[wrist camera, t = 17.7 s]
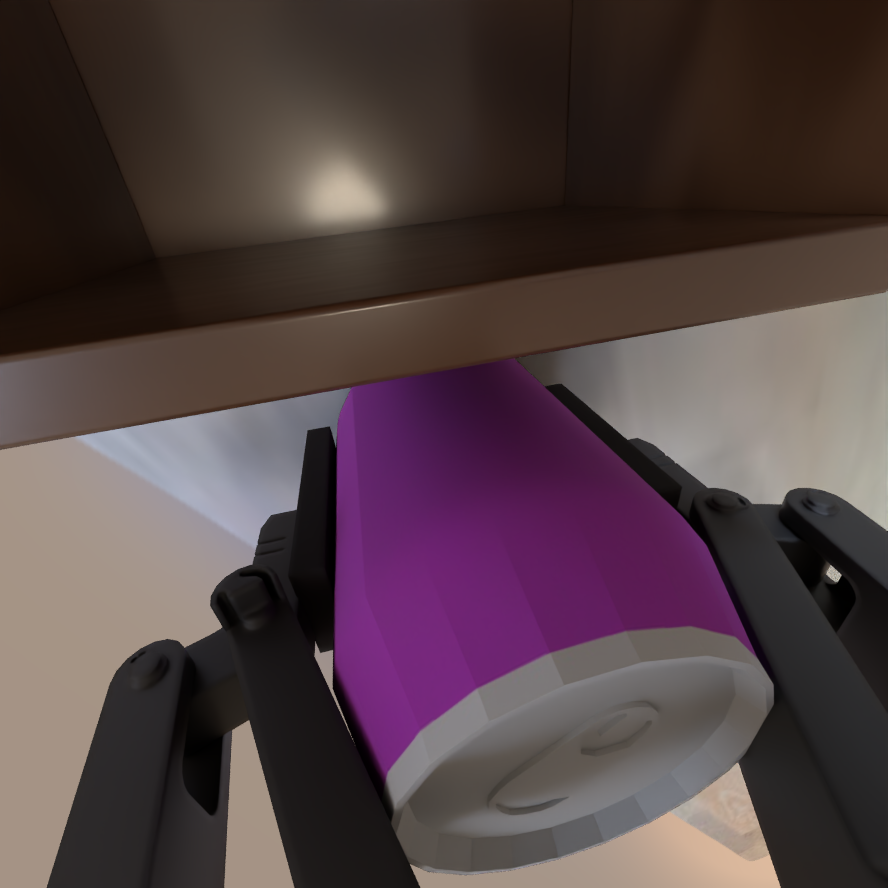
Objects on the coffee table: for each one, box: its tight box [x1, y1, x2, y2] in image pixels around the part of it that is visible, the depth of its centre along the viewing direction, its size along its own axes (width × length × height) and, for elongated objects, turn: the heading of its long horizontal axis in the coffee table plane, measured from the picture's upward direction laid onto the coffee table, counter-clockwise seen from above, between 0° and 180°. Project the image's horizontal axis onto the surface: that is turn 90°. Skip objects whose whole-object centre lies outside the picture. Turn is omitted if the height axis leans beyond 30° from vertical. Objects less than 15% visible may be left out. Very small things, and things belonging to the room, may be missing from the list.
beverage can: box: [333, 358, 774, 875], centre depth 12 cm, size 8×8×12 cm
